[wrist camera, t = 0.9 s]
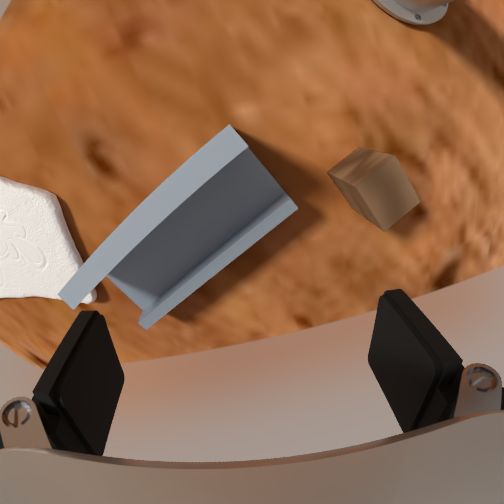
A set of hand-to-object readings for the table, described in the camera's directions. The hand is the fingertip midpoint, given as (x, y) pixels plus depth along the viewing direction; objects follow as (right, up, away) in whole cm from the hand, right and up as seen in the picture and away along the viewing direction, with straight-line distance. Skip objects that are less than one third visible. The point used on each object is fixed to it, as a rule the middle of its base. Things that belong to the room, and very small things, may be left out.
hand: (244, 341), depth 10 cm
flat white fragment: (-31, +6, +22) cm, 38 cm away
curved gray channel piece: (-7, +6, +23) cm, 24 cm away
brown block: (+11, +11, +22) cm, 27 cm away
